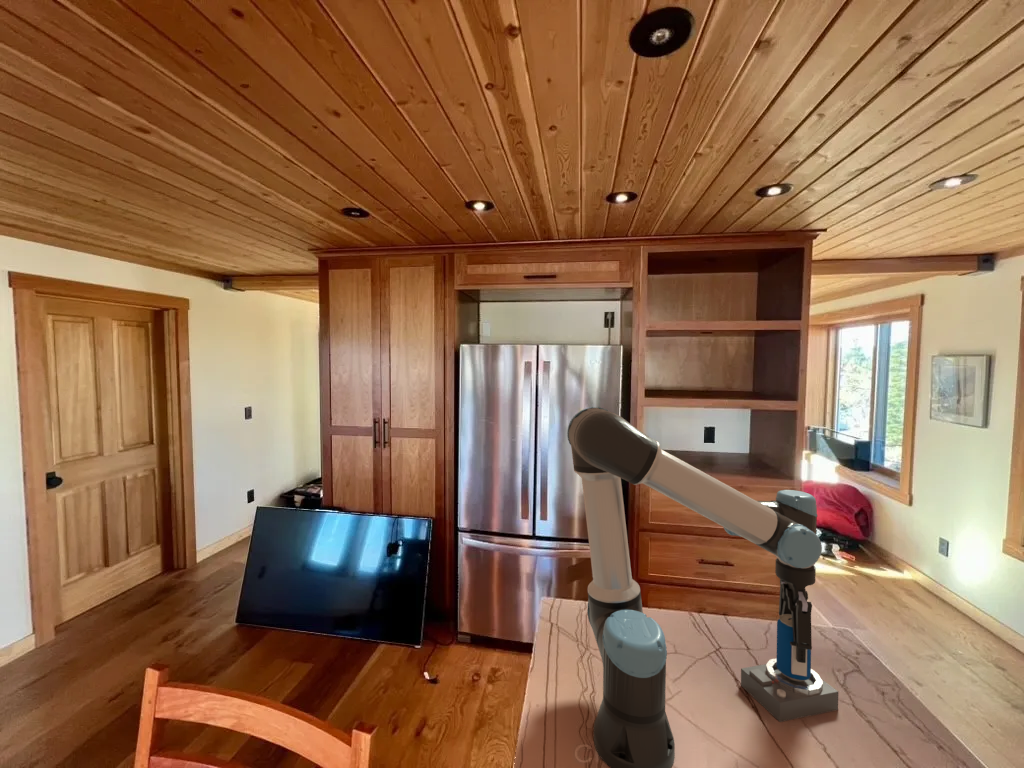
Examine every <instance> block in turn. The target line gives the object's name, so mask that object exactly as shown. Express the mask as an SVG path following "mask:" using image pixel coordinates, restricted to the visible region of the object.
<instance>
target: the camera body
mask: <svg viewBox="0 0 1024 768" xmlns="http://www.w3.org/2000/svg"><path fill="white" fill-rule="evenodd" d="M766 664H767V663H765V664H759V665H754V666H747V667H743V668H740V686H741V687H742V688H743V689H744V690H745V691H746V692H747V693H748V694H750V695H751V696H752V697H753V698H754V699H755V700H756V701H757V702H758V703H759V704H760V705H761V706H762V707H763V708H764V709H766V710H767V711H768V712H769V713H770V714H771V715H772V716H773V717H774V718H775V719H776V720H777V721H778V722H780V723H781V722H787V721H791V720H795V719H801V718H805V717H810V716H815V715H819V714H825V713H830V712H833V711H838V710H839V691H838V690H837V689H835V688H834V687H833V686H832V685H830V684H829V683H828V682H826V681H825V680H823V679H822V678H821V680H822V681H823V688H822V690H821V692H820V694H817V695H812V696H809V695H808V696H806V695H801V694H796V693H792V692H790V691H788V690H786V689H784V688H782V687H780V686H778V685H777V684H776V683H775V682H774V681H772V680H771V679H770V678H769V677H768V674H767V672H766ZM774 672H775V673H776V674H777V675H778V676H779V677H781V678H782V679H783V680H786V681H788V682H790V683H792V684H796V685H801V686H809V685H814V681H813V679H812V678H810V679H808V680H805V681H794V680H791V679H789V678H787V677H786V676H784V675H783V674H782V673H781V672H780V671H779V670H778V669H777V667H776V668H774Z"/></svg>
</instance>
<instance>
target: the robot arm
mask: <svg viewBox="0 0 1024 768" xmlns="http://www.w3.org/2000/svg"><path fill="white" fill-rule="evenodd" d="M566 432H567V433H566V434H567V435H566V436H567V440H568V443H569V445H570V446H571V457H572V464H573V471H574V473H576V475H579V477H580V478H581V485H582V490H583V491H582V493H583V502H584V512H585V519H586V528H587V529H586V530H587V537H588V544H589V545H588V546H589V554H590V555H589V556H590V563H591V564H590V565H591V574H592V580H591V582H589V584H588V585H587V596H588V597H587V599H588V600H587V618H588V621H589V625H590V627H591V629H592V632H593V635H594V638H595V641H596V645H597V647H598V651H599V655H600V657H601V660H602V670H603V671H602V677H603V678H602V690H603V691H602V701H601V703H600V706H599V709H598V712H597V715H596V717H595V720H594V722H593V723H594V724H593V743H594V747H595V750H596V752H597V753H598V755H599V757H600V758H601V759H602V761H603V762H604V763H605V764H606V765H608V766H609V767H610V768H672V766H673V765H674V762H675V758H676V757H675V754H676V753H675V751H676V750H675V749H676V746H675V745H676V744H675V738H674V734H673V732H672V728H671V725H670V722H669V719H668V715H667V713H666V680H667V679H666V678H667V676H666V675H667V674H666V673H667V656H668V651H667V644H666V636H665V634H664V631H663V628H662V627H661V625H660V624H659V623H658V622H657V621H656V620H655V619H654V618H652V617H650V616H647V614H645V613H644V610H643V604H642V603H643V602H642V593H641V587H640V585H639V583H638V582H637V581H636V580H635V579H633V576H632V575H633V574H632V568H631V559H630V548H629V543H628V542H629V541H628V530H627V524H626V514H625V513H626V512H625V504H624V495H623V486H622V480H624V481H626V482H628V483H629V484H632V485H634V486H637V485H641V484H643V485H645V486H646V487H649V488H650V489H653V490H654V491H656V492H657V493H659V494H662V495H664V496H665V497H667V498H669V499H671V500H673V501H674V502H677V503H679V504H680V505H682V506H684V507H686V508H688V509H689V510H692V511H693V512H695V513H697V514H699V515H700V516H703V517H704V518H706V519H708V520H710V521H712V522H714V523H715V524H717V525H719V526H721V527H722V528H723V530H724V531H725V532H726V533H727V535H729V536H737V537H740V538H741V537H742V538H743V539H745V540H748V541H749V542H751V543H753V544H754V545H755V546H758V547H760V548H762V549H764V550H765V551H767V552H769V553H770V554H773V555H774V556H775V557H776V559H775V571H774V572H775V575H776V577H777V578H778V579H779V600H778V603H779V605H778V606H779V607H778V615H779V617H780V615H782V614H791V615H792V627H793V640H794V641H793V642H790V645H792V658H791V672H792V674H795V675H801V676H807V649H808V650H811V651H812V648H813V646H812V611H813V610H812V608H813V604H812V602H811V601H808V599H809V593H808V591H807V590H806V587H808V586H813V585H814V584H815V583H816V575H817V574H816V572H817V571H816V569H817V568H816V566H815V565H816V563H817V562H818V561H819V559H820V558H821V555H822V551H823V546H822V542H821V540H820V539H821V538H820V537H819V536H818V535H817V525H818V524H817V523H818V521H817V520H818V519H817V518H818V512H817V511H818V509H817V507H818V506H817V505H818V504H817V500H816V498H815V497H814V495H812V494H810V493H807V492H805V491H803V490H802V491H801V490H796V489H782V490H778V491H777V493H776V497H775V500H756V499H755V498H752V497H750V496H748V495H746V494H745V493H743V492H742V491H741V492H740V491H739V490H737V489H735V488H734V487H731V486H730V485H729V484H726V483H724V482H723V481H720V480H719V479H717V478H716V477H713V476H711V474H710V475H709V474H708V473H705V472H704V471H702V470H701V469H698V468H696V467H695V466H693V465H692V464H689V463H688V462H686V461H684V460H682V459H680V458H678V457H677V456H675V455H673V454H670V453H669V452H667V451H665V450H663V449H662V448H661V446H660V442H658V441H657V440H656V439H655V438H652V437H650V436H649V435H647V434H645V433H644V432H642V431H641V430H639V429H638V428H636V427H635V426H634V425H633V424H631V423H630V422H629V421H627V419H624V418H623V417H622V416H621V415H619V414H616V413H615V412H612V411H609V410H608V409H605V408H603V407H599V406H598V407H593V406H592V407H588V408H584V409H582V410H580V411H578V412H576V414H574V415H573V417H572V418H571V420H570V422H569V423H568V427H567V430H566Z"/></svg>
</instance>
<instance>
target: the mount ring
mask: <svg viewBox="0 0 1024 768" xmlns="http://www.w3.org/2000/svg"><path fill="white" fill-rule="evenodd" d="M776 661H777V657H776V658H770V659H769V660H768V661H767V663H765V664H766V672H767V674H768V677H769V678H770V679H771V680H772V681H774V682H775V683H776V684H777V685H778V686H780V687H782V688H784V689H786V690H788V691H790V692H792V693H796V694H801V695H806V696H808V695H809V696H812V695H817V694H820V692H821V690H822V688H823V681H822V680H823V679H822V678H821V676H820V674H818V672H816V671H815V670H814V669H812V668H811V677H810V678H812V679H813V681H814V685H809V686H801V685H796V684H792V683H790V682H788V681H786V680H783V679H782V678H781V677H779V676H778V675H777V674H776V673H775V672H774V668H776V667H777V666H776ZM821 679H822V680H821Z"/></svg>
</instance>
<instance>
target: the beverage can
mask: <svg viewBox="0 0 1024 768" xmlns="http://www.w3.org/2000/svg"><path fill="white" fill-rule="evenodd" d="M793 641H794V640H793V627H792V615H791V614H782V615H780V616H779V619H777V621H776V658H777V661H776V666H777V669H778V670H779V671H780V672H781V673H782V674H783V675H784V676H786V677H787V678H789V679H791V680H794V681H805V680H808V679H810V677H811V669H812V649H811V650H808V649H807V676H801V675H795V674H792V672H791V658H792V645H790V642H793Z"/></svg>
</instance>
